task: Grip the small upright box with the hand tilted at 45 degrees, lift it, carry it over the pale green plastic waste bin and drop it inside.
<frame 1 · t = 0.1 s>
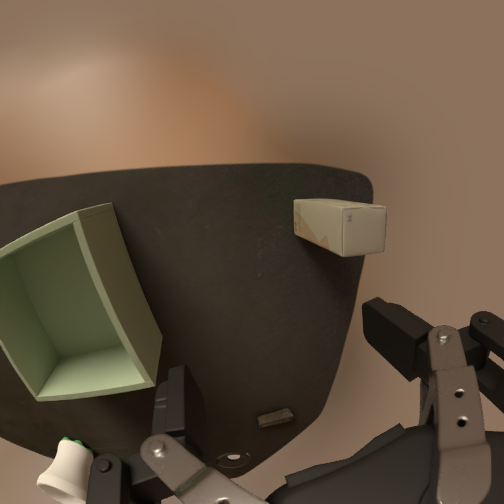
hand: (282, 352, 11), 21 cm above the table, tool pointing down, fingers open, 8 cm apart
cup: (77, 446, 34), on the table
box: (312, 215, 32), on the table
bin: (77, 293, 29), on the table
block: (273, 415, 40), on the table
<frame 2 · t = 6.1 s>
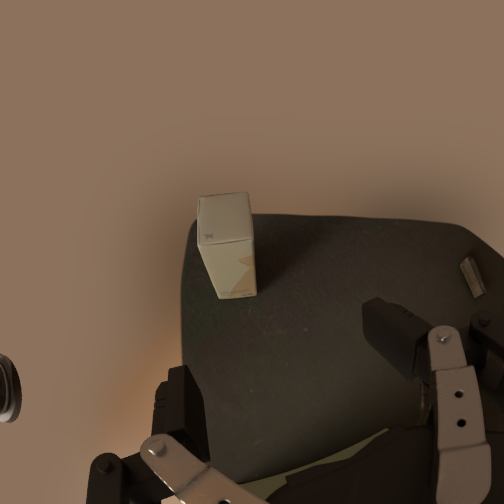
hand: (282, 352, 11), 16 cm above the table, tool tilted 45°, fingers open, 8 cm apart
box: (236, 277, 31), on the table
block: (470, 280, 29), on the table
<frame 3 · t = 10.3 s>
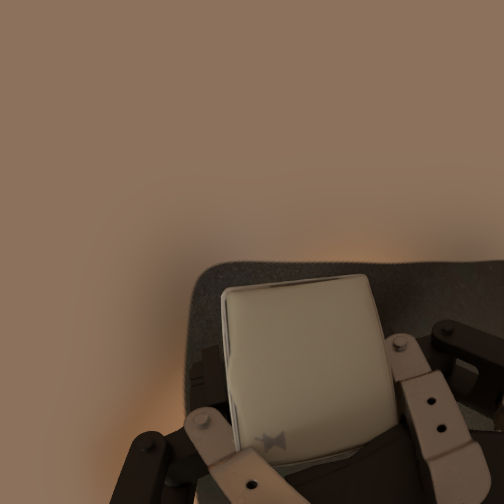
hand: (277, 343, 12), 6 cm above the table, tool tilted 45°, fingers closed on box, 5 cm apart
box: (281, 384, 16), on the table, touching gripper
when the fingers open (6 cm above the table, at t = 20.5 s): box stays where it is, resting on bin.
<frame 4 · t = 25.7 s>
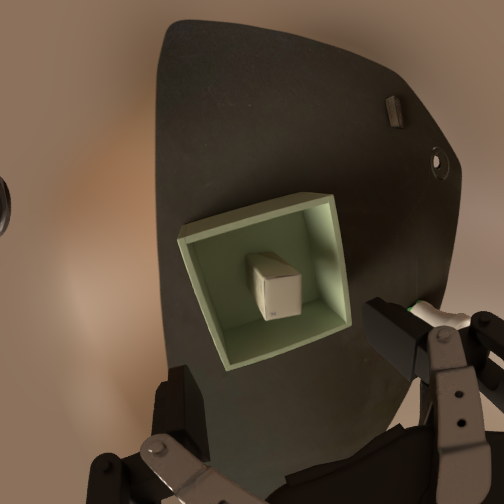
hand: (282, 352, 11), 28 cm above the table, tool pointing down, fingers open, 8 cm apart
cup: (413, 314, 50), on the table
box: (259, 268, 39), point 1 cm above the table, touching bin
bin: (258, 265, 40), on the table
block: (392, 113, 38), on the table
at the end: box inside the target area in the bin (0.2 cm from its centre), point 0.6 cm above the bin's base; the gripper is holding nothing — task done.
